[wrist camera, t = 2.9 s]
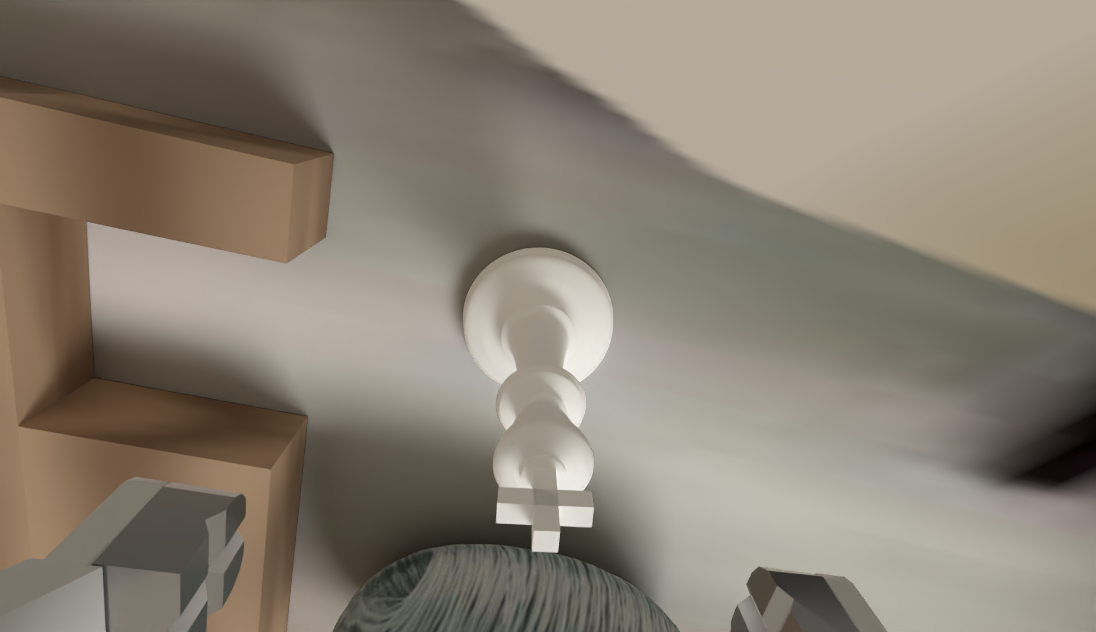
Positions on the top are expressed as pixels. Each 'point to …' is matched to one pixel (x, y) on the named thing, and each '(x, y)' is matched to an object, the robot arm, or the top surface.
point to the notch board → (66, 334)
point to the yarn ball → (498, 595)
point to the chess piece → (540, 382)
